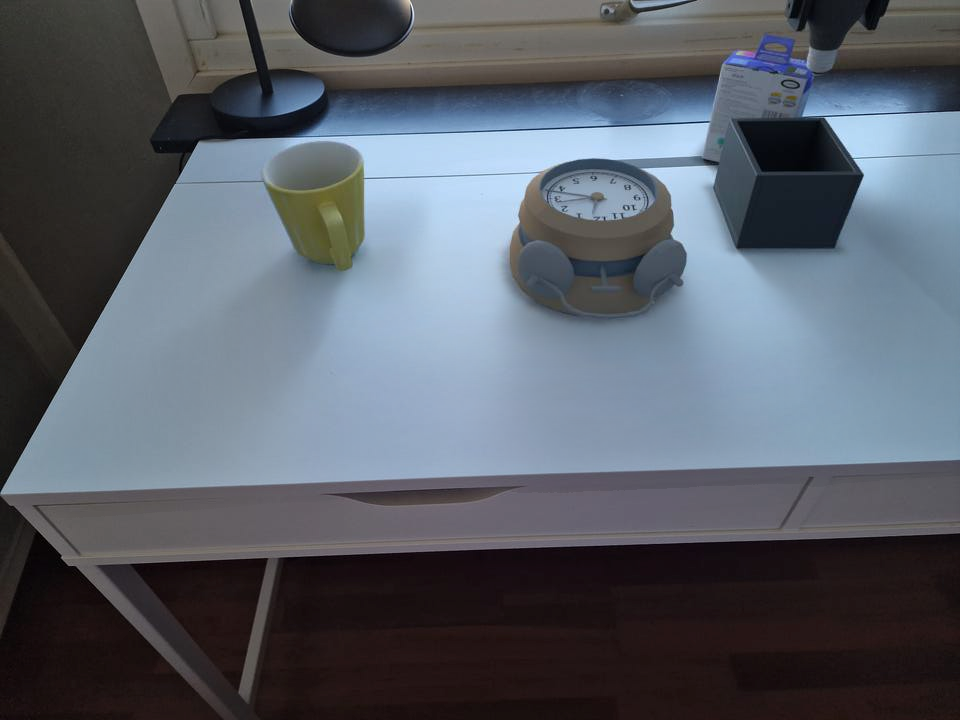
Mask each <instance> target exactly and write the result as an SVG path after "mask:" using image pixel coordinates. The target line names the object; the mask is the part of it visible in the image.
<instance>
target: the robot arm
mask: <svg viewBox="0 0 960 720" xmlns="http://www.w3.org/2000/svg"><path fill="white" fill-rule="evenodd" d="M890 1H891V0H870V2H869V5H868V7H867V8H866V10H865V11H864V13H863V14H862V16H861V17H860V18H859V20H858V21H857V22H859V23H860V24H861V25H862V27H863V28H864V29H866V30H867V31H876V29H877V27H878V25H879V22H880V19H881V18H883V17H884V16H885V14H886V12H887V10H888V7H889V4H890ZM812 2H813V0H786V4H785V9H784V17H785V18H786V21H787V23H788V25H789V26H790V27H791V28H792V29H793V31H794V32H796V33H797V32H801V33H802V31H804V30H805V29H806V27H807V26H806V25H807V19H808V16H809V12H810V9H811V5H812Z"/></svg>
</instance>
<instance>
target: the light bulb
mask: <svg viewBox="0 0 960 720" xmlns="http://www.w3.org/2000/svg"><path fill="white" fill-rule="evenodd" d="M869 2H870V0H813V2H812V5H811V9H810V12H809V16H808V19H807V23H806V25H807V27H808V32H809V34H808V35H809V36H808V37H809V38H808V44H809V45H808V46H809V49H808V53H807V57H806V61H807V65H806V66H807V68H808V69H809V70H811V71H812V74H813V75H815V76H818V77H819V76H822V75H823V74H824V73H826V72H828V71H830V70H832V69H833V67H834V65H835V62H836V59H837V55H838V51H839V49H840V47H841V46H842V44H843V43H844V40H845V38H846V35H847V34H848V33H849V31H850V30H851V29H852V28H853V27H854V26H855V24H856V23H857V22H859V21H858V20H859V18H860V17H861V16H862V14H863V13H864V11H865V10H866V8H867V7H868V5H869Z"/></svg>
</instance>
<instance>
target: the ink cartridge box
mask: <svg viewBox="0 0 960 720" xmlns="http://www.w3.org/2000/svg"><path fill="white" fill-rule="evenodd" d="M795 43H796V39H795V38H788V37H783V36H777V35H771V34H766V33H764V34H763V36H762V39H761V42H760V44H759V46H758V47H757V50H756V52H751V51H745V50H739V49H736V50H735V51H733V52H732V53H731V55H729V57H728V58H727V59H726V60H724V61H723V63H722V64H721V68H720V73H719V77H718V82H717V87H716V91H715V95H714V100H713V104H712V109H711V114H710V118H709V123H708V128H707V132H706V138H705V141H704V145H703V150H702V154H701V159H703V160H709V161H712V162H716V163H719V161H720V157H721V153H722V148H723V144H724V140H725V136H726V132H727V127H728V123H729V119H730V118H735V119H736V118H803V115H804V113H805V109H806V106H807V102H808V100H809V96H810V94H811V90H812V88H813V87H812V86H813V82H814V80H815V76H816V75H813V74H812V71H811V70H809V69H808V68H807V66H806V65H807V60H805V59H804V60H803V59H797V58H791V55H792V52H793V49H794V46H795ZM767 44H768V45H769V44H778V45H781V46H783V47H785V48H786V50H785V51H784V52H782V51H778V50H774V49H773V50H772V49H767V48H765V46H766V45H767Z"/></svg>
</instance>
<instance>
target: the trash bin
mask: <svg viewBox="0 0 960 720" xmlns="http://www.w3.org/2000/svg"><path fill="white" fill-rule="evenodd" d="M847 149H848V148H846V146H845V145H844V144H843V142H842V141H841V139H840V138H839V136H838V135H837V133H836V132H835V130H834V129H833V128H832V126H831V124H830V123H829V122H828V121H827V119H826V117H825V116H824V117H823V116H822V117H821V116H820V117H802V118H736V119H735V118H730V119H729V123H728V127H727V132H726V136H725V140H724V144H723V148H722V153H721V157H720V161H719V162H718V166H717V170H716V174H715V177H714V178H715V179H714V183H713V187H712V188H713V191H714V194H715V197H716V199H717V202H718V204H719V207H720V210H721V212H722V215H723V217H724V220H725V223H726V225H727V228H728V231H729V233H730V235H731V239H732V241H733V244H734V247H735V249H835V248H836V245H837V243H838V241H839V238H840V237H841V233H842V230H843V228H844V225H845V224H846V221H847V219H848V216H849V214H850V211H851V209H852V206H853V204H854V201H855V199H856V196H857V194H858V191H859V189H860V186H861V184H862V181H863V179H864V176H865V174H864V173H863V171H862V169H861V168H860V167H859V165H858V164H857V162H856V161H855V159H854V157H853V156H852V155H851V154H850V152H849V151H848V150H847Z"/></svg>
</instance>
